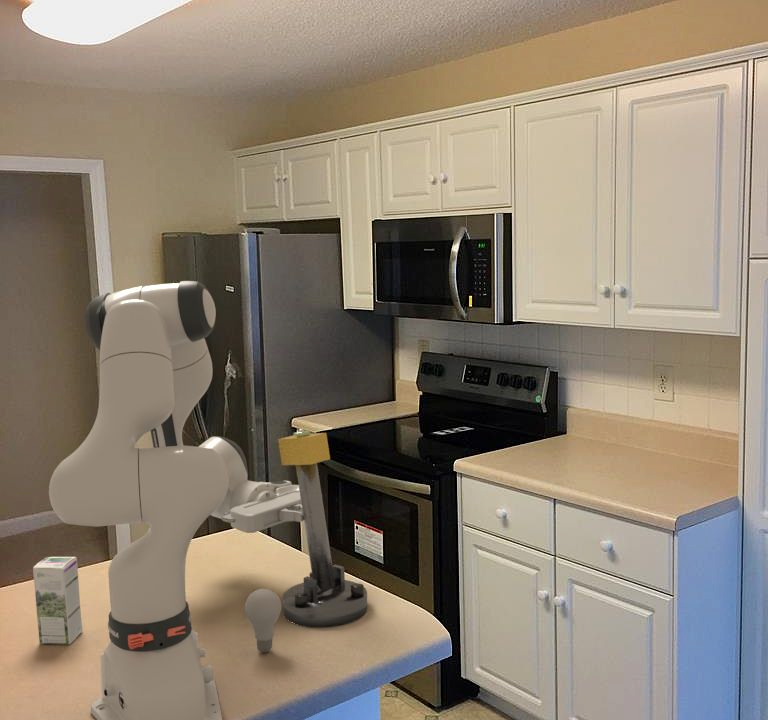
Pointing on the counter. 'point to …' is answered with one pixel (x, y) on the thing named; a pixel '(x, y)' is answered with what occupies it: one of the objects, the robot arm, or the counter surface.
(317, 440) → the instrument mast
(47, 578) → the syrup box
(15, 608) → the counter surface
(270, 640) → the lightbulb
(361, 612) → the tribrach base
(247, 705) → the counter surface
